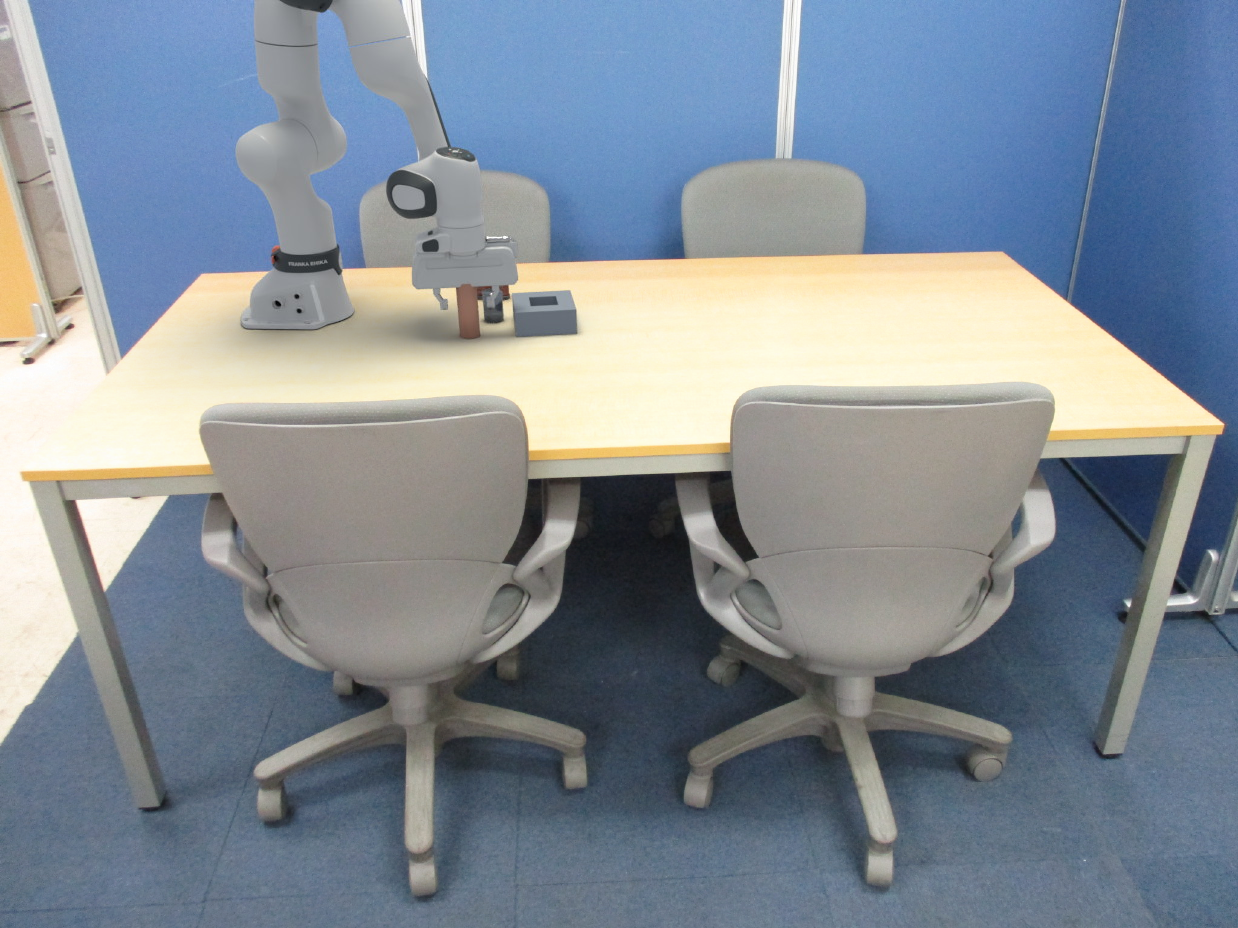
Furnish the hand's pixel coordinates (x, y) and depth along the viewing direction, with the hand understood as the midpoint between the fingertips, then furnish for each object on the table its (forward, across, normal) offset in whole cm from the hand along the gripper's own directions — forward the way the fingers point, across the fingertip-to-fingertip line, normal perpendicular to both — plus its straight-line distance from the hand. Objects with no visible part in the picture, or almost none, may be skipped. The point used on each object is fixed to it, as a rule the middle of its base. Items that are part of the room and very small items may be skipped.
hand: (467, 308), depth 193 cm
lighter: (+6, -5, -22) cm, 23 cm away
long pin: (+6, 0, 0) cm, 6 cm away
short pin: (+6, -5, -8) cm, 11 cm away
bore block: (+6, -15, -4) cm, 16 cm away
